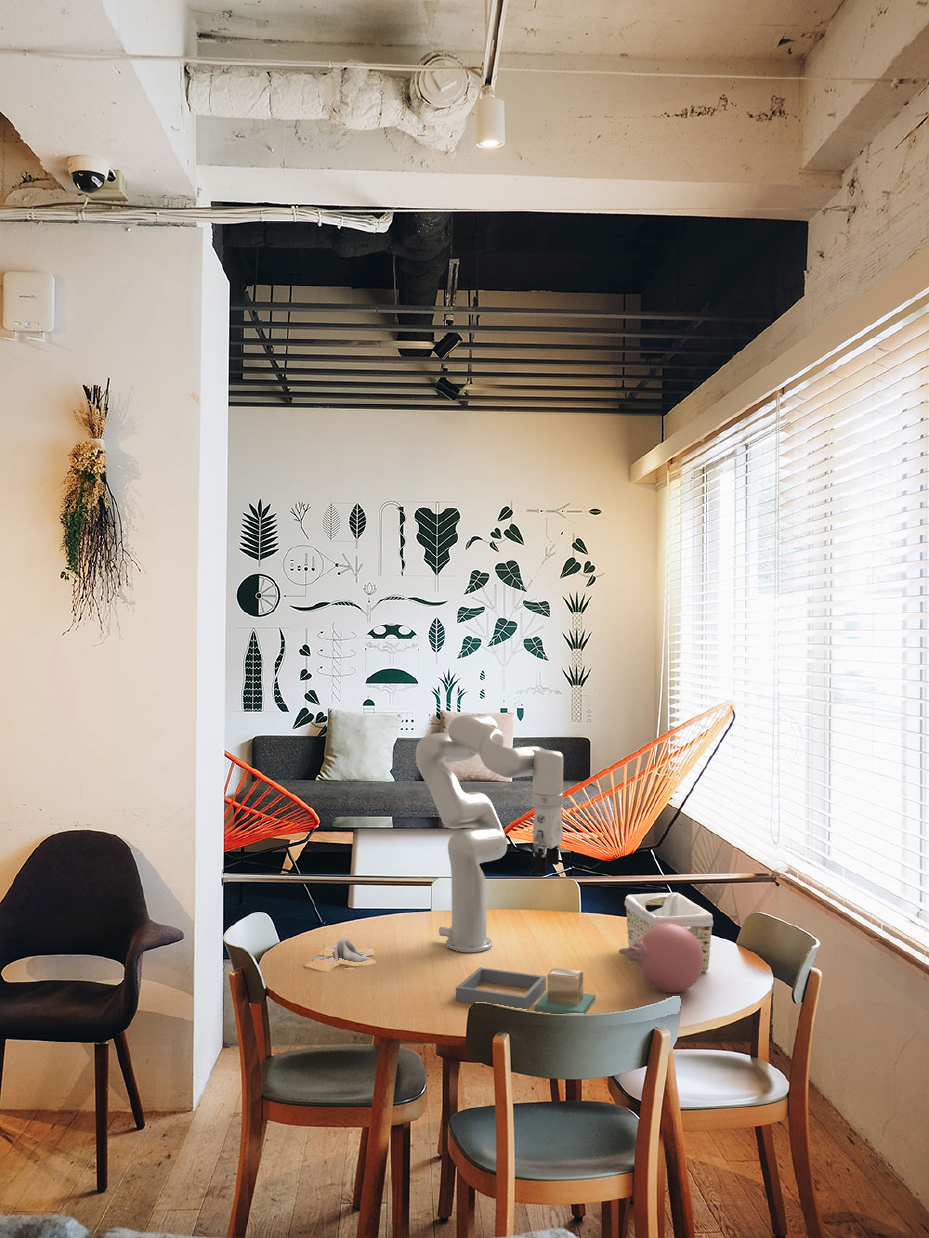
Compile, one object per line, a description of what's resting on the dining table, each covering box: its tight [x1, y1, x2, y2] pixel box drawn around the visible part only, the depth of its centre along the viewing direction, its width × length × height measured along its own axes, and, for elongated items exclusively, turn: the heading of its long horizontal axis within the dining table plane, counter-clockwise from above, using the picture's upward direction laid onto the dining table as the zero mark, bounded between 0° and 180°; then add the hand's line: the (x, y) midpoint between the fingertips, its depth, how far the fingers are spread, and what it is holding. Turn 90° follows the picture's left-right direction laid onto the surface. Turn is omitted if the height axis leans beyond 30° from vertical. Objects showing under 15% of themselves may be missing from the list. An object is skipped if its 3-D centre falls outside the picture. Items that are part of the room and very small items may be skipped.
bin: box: [455, 967, 547, 1010], centre depth 215 cm, size 17×15×3 cm
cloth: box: [312, 937, 374, 965], centre depth 240 cm, size 22×19×6 cm
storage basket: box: [624, 892, 714, 972], centre depth 240 cm, size 24×16×15 cm
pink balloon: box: [618, 924, 704, 993], centre depth 218 cm, size 15×20×15 cm
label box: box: [546, 967, 584, 1006], centre depth 209 cm, size 5×7×6 cm
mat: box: [534, 990, 596, 1014], centre depth 209 cm, size 11×11×1 cm
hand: (546, 868), depth 230 cm, fingers open, 9 cm apart
